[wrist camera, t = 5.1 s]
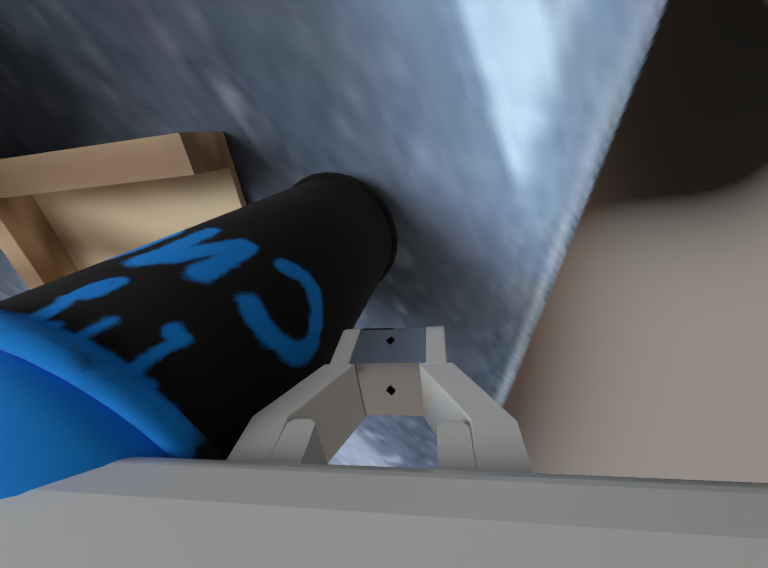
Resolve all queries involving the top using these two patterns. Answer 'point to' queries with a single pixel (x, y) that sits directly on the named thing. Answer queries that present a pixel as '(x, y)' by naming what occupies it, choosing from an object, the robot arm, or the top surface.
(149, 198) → the wooden tray
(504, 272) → the top surface
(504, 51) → the top surface
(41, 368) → the aerosol can
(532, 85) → the top surface
